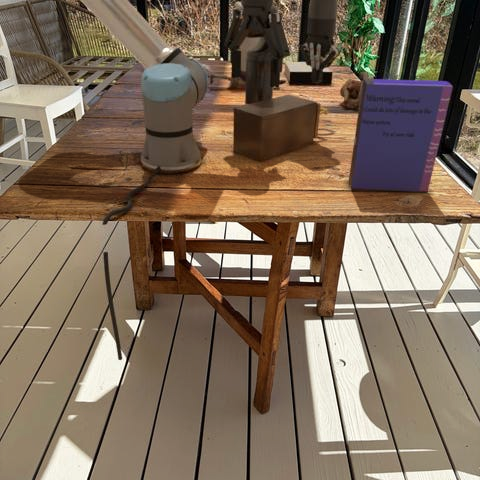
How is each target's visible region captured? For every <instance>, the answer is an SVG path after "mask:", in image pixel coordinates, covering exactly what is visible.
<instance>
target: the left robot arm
mask: <svg viewBox="0 0 480 480" xmlns="http://www.w3.org/2000/svg"><path fill="white" fill-rule="evenodd" d="M79 1H80V2H81V3H82V4H84V6H85V7H86V8H87V9H88V10H89V12H91V13H92V15H94V16H95V18H96V19H97V20H98V21H99V22H100V23H101V24H102V26H104V27H105V28H106V29H107V30H108V31H109V32H110V34H111V35H112V36H113V37H115V38H116V40H117V41H118V42H119V43H120V44H121V45H122V46H123V47H124V49H126V50H127V51H128V52H129V53H130V54H131V55H132V57H133V58H134V59H135V60H136V61H137V62H138V63H139V64H140V65H141V66H142V68H143V69H144V68H145V69H146V70H145V71H144V70H143V72H142V74H141V77H140V78H141V79H140V80H141V83H140V91H141V95H142V97H141V98H142V106H143V116H144V125H145V126H144V127H145V138H144V142H143V146H142V150H141V154H140V162H141V166H142V168H144V169H145V170H146V171H149V172H151V173H150V174H149V176H148V177H147V178H146V180H144V182H142V183H141V184H140V185H139V186H138V187H135V188H134V189H132V190H131V191H129V193H128V194H127V195H126V202H127V204H126V205H125V206H124V207H120V208H119V207H118V208H115V209H113V210H111V211H109V212H108V213H107V214H106V215H105V217H104V218H103V220H102V224H101V225H103V226H105V225H108V222H109V221H110V219H112V217H113V216H115V215H117V214H121V213H125V212H127V211H128V210H130V209H131V208H132V205H133V201H132V197H133V196H134V195H135V194H137V193H139V192H140V191H142V190H144V189H145V188H146V187H147V186H148V185H149V183H150V182H151V181H152V179H154V177H155V176H156V175H157V174H163V175H164V174H165V175H169V174H170V175H172V174H173V175H175V174H182V173H187V172H190V171H193V170H195V169H197V168H198V167H199V166H201V163H202V155H201V151H200V149H199V147H200V148H202V147H203V142H201V141H197V140H196V137H195V135H194V130H193V129H194V126H193V109H194V108H195V107H196V106H197V105H199V103H200V102H201V101H203V99H204V98H205V96H206V94H207V91H208V88H209V76H208V73H207V71H206V70H205V68H204V67H203V66H202V65H201V64H202V63H200V61H199V60H197V59H195V60H194V58H193V59H191V58H189V57H188V56H187V55H186V54H185V53H184V51H182V49H181V48H180V47H178V46H171V45H169V44H168V43H167V42H166V40H165V39H164V38H163V37H162V36H161V35H160V34H159V33H158V32H157V30H155V29H154V28H153V26H152V25H151V24H150V23H149V22H148V21H147V20H146V19H145V18H144V17H143V15H142V14H141V13H140V12H139V11H138V10H137V9H136V8H135V7H134V6H133V4H132V3H130V1H129V0H79ZM240 2H241V5H242V6H243V7H244V8H243V9H242V8H240V9H236V8H234V9H233V12H232V19H231V22H230V24H229V29H228V30H227V34H226V36H225V40H224V44H223V46H224V47H225V48H227V49H228V50H229V51H230V53H229V54H230V55H229V58H230V59H229V62H230V64H231V67H232V69H231V72H232V78H236V77H241V50H239V48H240V46H241V44H242V43H243V41H244V40H245V38H246V36H247V35H248V33H249V32H250V31H255V32H260V33H261V34H262V35H263V37H264V39H265V41H266V43H267V45H268V47H269V49H270V51H271V53H272V55H273V58H272V59H271V74H270V87H273V88H277V87H276V86H279V87H280V86H281V85H280V80H281V73H282V72H283V65H284V64H283V63H284V59H285V58H288V57H290V56H291V51H290V48H289V44H288V40H287V37H286V33H285V29H284V26H283V18H282V17H283V15H282V13H281V12H278V13H272V14H271V7H272V5H273V6H274V0H240ZM243 19H244V21H243V23H242V20H243ZM270 22H271V24H270ZM241 23H242V24H241ZM239 29H240V30H239ZM196 60H197V61H196ZM102 255H103V256H102V257H103V268H104V280H105V288H106V295H107V300H108V301H107V302H108V308H109V313H110V318H111V324H112V330H113V334H114V340H115V341H114V342H115V347H116V352H117V359H118V360H119V361H122V360H123V353H122V347H121V341H120V334H119V328H118V323H117V317H116V312H115V306H114V299H113V293H112V286H111V285H112V284H111V277H110V266H109V265H110V263H109V252H108V251H103V253H102Z"/></svg>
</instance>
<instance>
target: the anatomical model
mask: <svg viewBox="0 0 480 480" xmlns="http://www.w3.org/2000/svg"><path fill="white" fill-rule="evenodd" d="M359 77H361V78H362V81H361V80H356V79H352V78H349V79H347V80H346V81H345V82H344V83H343V85H342V86H341V87H340V91H339V93H340V96H341V98H343V102H344V103H345V104H346V108H347V109H352V110H354V109H355V108H357V106H359V104H360V97H361V90H362V83H363V79H369V75H368V73H366V72H365V71H360V72H359Z"/></svg>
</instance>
